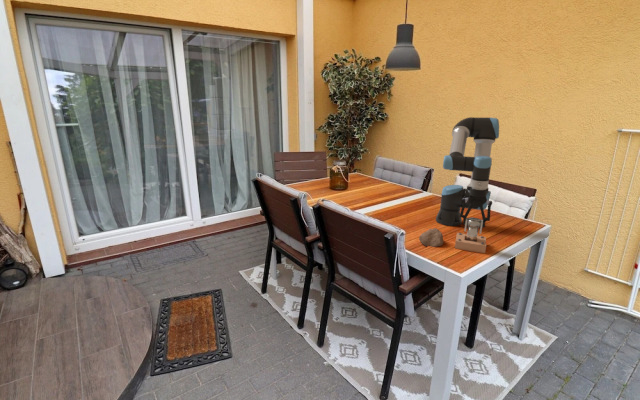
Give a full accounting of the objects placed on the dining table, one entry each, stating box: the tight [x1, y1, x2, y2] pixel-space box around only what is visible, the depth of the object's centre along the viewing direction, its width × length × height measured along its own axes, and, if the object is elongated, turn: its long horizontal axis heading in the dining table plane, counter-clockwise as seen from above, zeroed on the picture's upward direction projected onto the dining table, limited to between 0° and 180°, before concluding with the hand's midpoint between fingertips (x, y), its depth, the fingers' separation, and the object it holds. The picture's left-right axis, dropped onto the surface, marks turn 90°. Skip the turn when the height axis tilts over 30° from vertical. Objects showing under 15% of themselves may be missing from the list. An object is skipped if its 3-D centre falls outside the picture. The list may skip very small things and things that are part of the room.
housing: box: [454, 232, 487, 254], centre depth 170 cm, size 14×12×6 cm
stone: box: [418, 228, 444, 248], centre depth 175 cm, size 12×9×10 cm
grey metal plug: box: [466, 216, 482, 242], centre depth 168 cm, size 6×6×13 cm
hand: (472, 231), depth 169 cm, fingers closed on grey metal plug, 6 cm apart
